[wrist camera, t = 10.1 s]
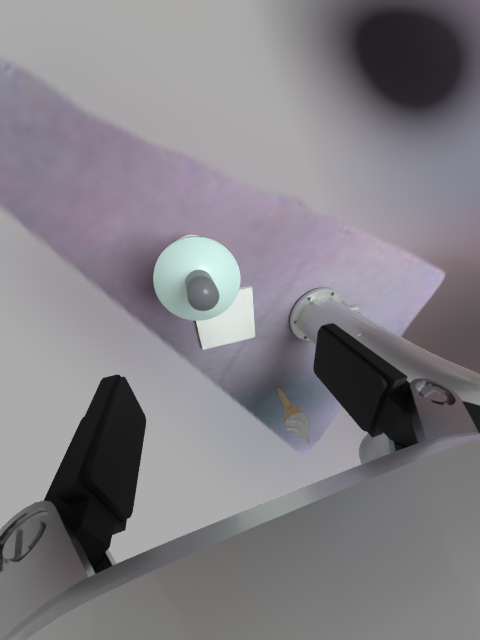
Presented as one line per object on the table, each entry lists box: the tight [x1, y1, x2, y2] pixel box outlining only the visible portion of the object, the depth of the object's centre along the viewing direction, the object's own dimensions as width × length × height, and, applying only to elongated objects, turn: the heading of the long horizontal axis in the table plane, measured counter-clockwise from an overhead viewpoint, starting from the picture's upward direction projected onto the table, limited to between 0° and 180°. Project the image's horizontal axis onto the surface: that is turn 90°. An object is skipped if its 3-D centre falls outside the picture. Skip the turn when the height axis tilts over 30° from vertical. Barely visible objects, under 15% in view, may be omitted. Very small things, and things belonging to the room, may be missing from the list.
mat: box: [196, 286, 255, 350], centre depth 39 cm, size 11×11×1 cm
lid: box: [153, 236, 240, 321], centre depth 20 cm, size 9×9×5 cm
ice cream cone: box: [277, 387, 309, 443], centre depth 47 cm, size 6×6×15 cm
